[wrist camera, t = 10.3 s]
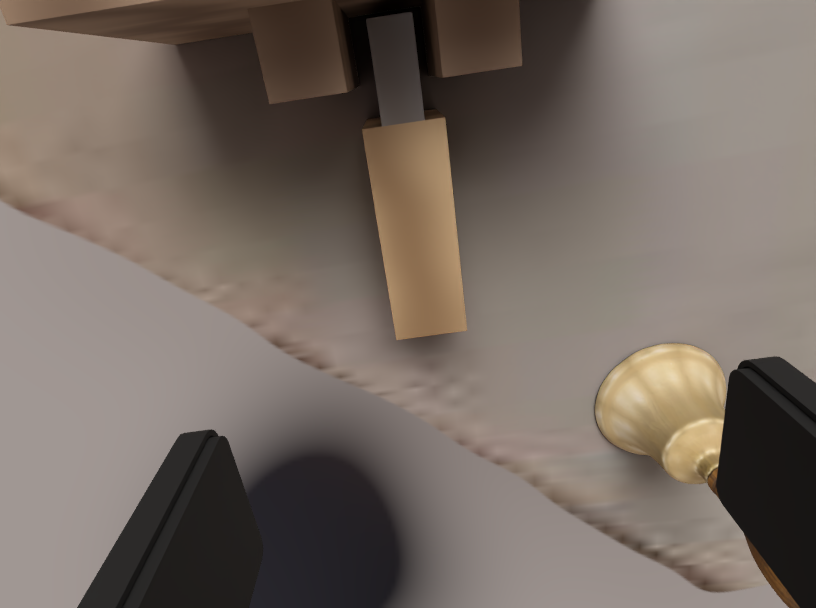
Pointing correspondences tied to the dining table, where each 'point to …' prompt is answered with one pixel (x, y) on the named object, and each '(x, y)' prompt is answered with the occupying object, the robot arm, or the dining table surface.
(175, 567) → the robot arm
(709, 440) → the hand bell
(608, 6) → the dining table surface
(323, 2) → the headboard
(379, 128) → the tan and gray block
